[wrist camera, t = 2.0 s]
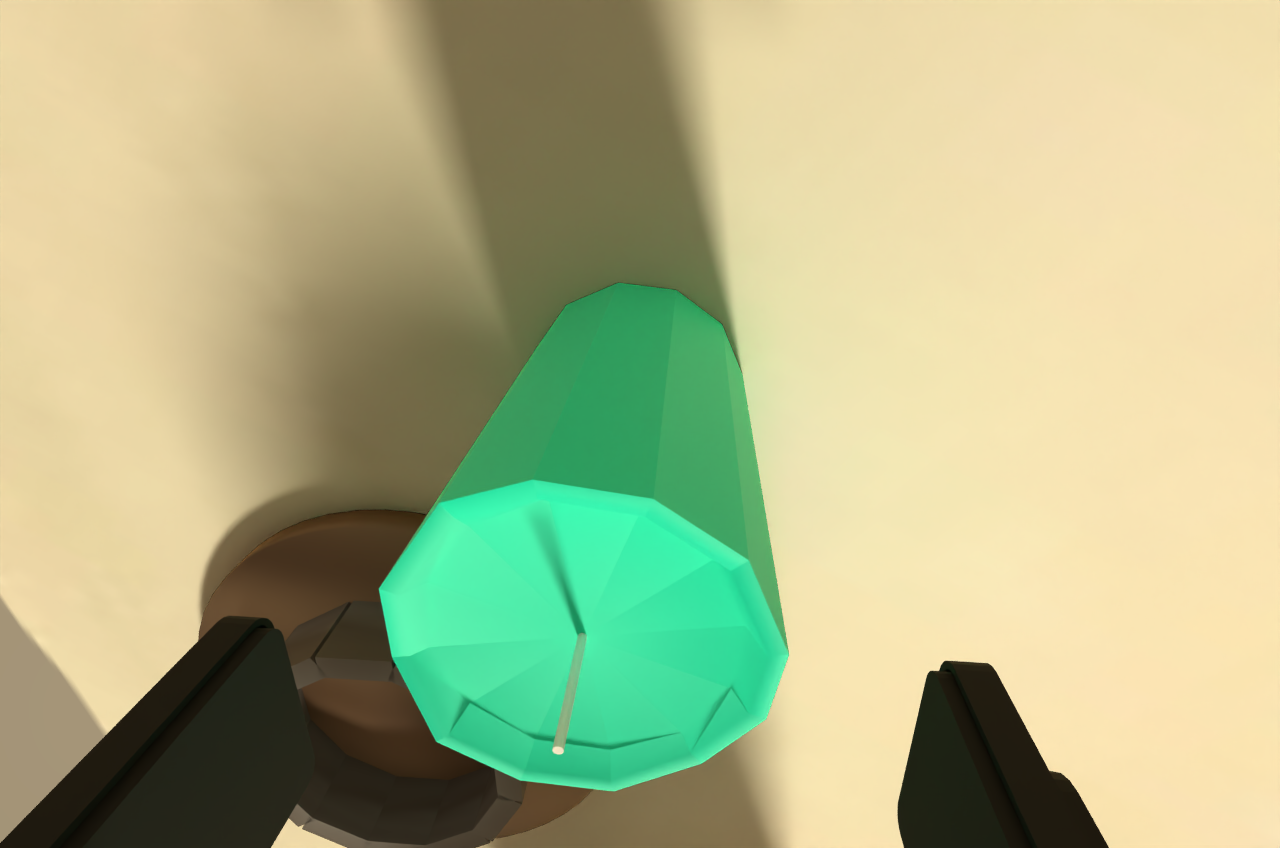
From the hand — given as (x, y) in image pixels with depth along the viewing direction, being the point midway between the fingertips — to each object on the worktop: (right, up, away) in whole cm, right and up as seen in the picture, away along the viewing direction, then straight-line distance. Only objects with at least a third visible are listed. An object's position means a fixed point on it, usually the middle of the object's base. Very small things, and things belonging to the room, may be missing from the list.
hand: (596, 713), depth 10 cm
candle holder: (-7, -5, +15) cm, 18 cm away
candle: (+1, +5, +10) cm, 11 cm away
